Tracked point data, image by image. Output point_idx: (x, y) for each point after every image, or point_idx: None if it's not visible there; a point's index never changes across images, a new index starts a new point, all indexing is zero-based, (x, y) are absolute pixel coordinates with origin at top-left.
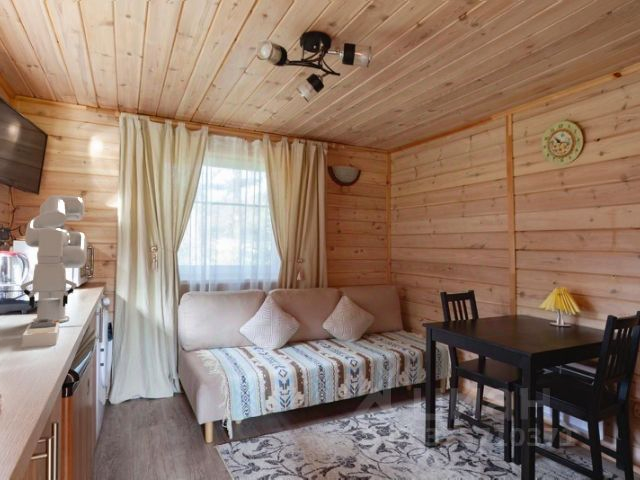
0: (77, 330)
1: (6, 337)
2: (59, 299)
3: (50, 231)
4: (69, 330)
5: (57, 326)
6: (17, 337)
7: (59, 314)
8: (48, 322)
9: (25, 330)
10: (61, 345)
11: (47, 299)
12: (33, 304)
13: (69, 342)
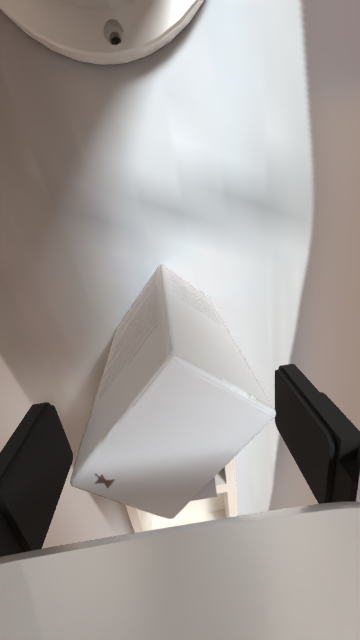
0: (289, 327)
1: (29, 395)
2: (267, 417)
3: None
4: (256, 319)
5: (232, 476)
6: (75, 403)
7: (228, 332)
8: (201, 496)
9: (130, 517)
10: (244, 510)
11: (157, 467)
12: (62, 482)
13: (263, 488)
